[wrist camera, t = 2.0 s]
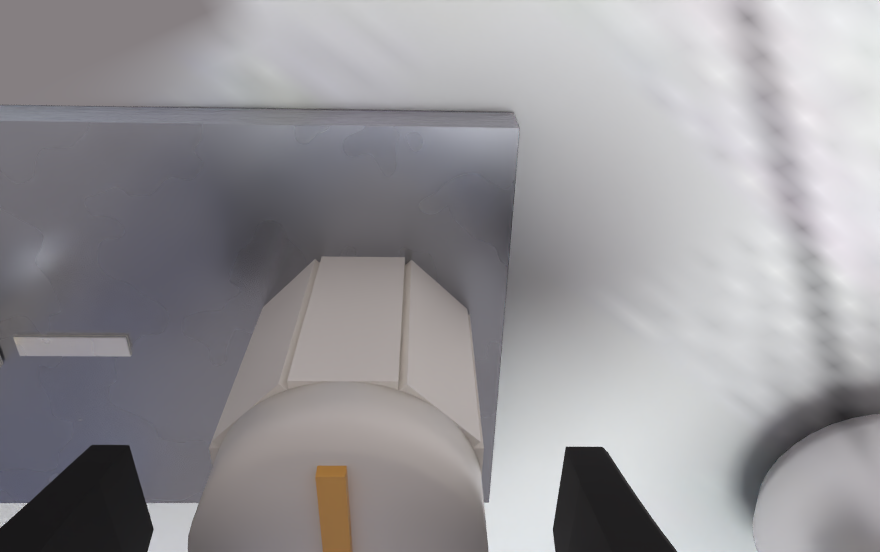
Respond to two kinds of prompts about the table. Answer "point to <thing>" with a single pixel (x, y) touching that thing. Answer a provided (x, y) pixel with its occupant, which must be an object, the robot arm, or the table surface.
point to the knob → (350, 421)
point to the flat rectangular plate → (215, 261)
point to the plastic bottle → (824, 492)
